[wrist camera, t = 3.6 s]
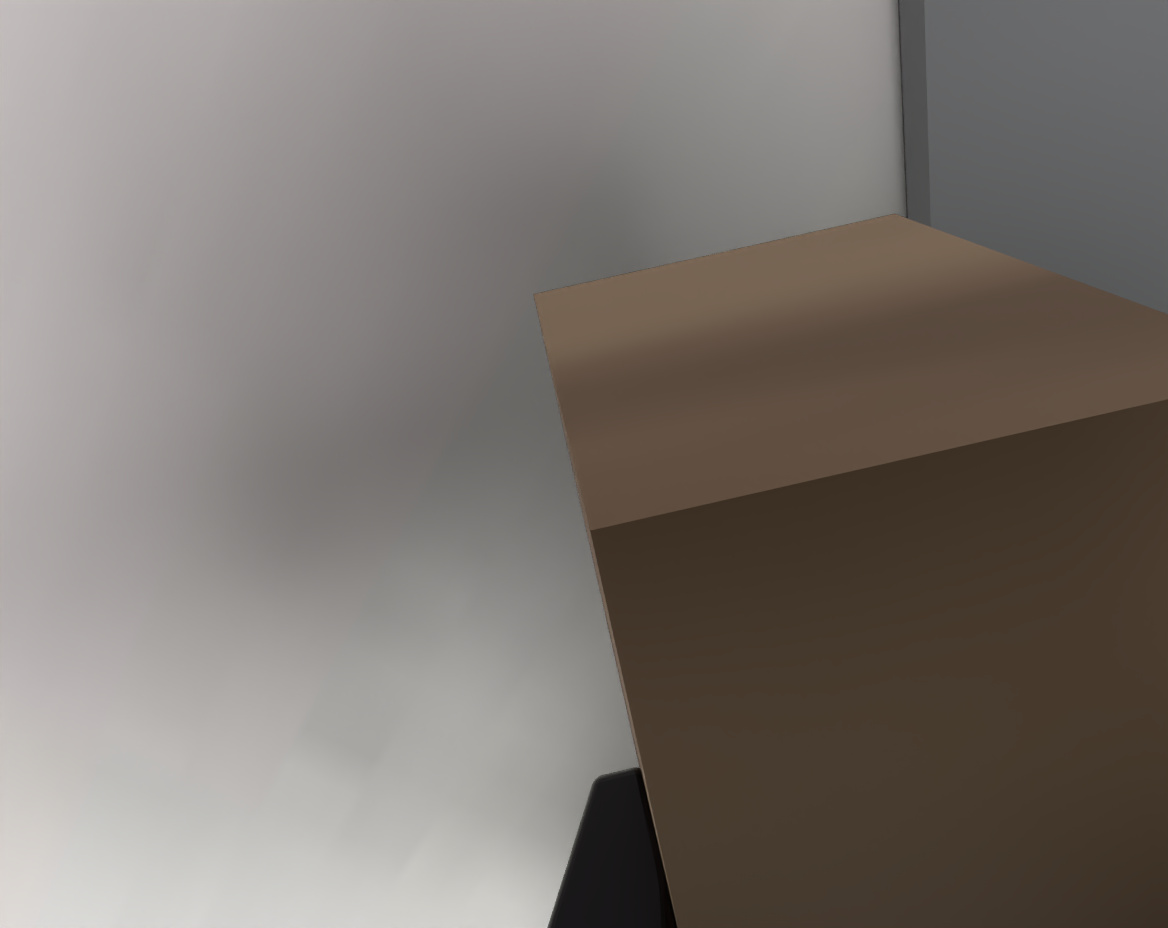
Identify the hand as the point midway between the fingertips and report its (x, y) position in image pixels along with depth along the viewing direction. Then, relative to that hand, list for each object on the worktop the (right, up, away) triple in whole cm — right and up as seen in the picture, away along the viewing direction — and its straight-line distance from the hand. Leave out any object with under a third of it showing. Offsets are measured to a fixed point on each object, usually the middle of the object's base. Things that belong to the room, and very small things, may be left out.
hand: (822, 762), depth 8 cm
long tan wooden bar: (+1, -4, +4) cm, 6 cm away
